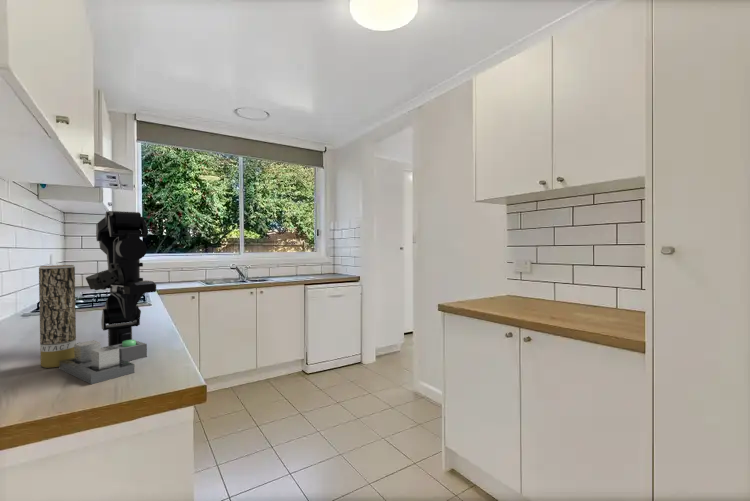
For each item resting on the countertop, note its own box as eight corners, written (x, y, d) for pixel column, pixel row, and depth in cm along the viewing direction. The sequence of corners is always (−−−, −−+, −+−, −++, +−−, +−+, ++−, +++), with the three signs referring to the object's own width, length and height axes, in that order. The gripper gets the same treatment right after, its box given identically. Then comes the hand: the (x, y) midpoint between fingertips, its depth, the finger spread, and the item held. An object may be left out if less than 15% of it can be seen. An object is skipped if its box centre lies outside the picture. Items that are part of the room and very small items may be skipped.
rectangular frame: (59, 369, 88) (59, 360, 88) (100, 359, 95) (100, 352, 95) (91, 384, 78) (91, 375, 78) (134, 372, 85) (134, 364, 85)
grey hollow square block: (111, 359, 96) (111, 345, 96) (136, 353, 101) (136, 340, 101) (121, 362, 92) (121, 349, 92) (146, 356, 97) (146, 343, 97)
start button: (120, 350, 96) (120, 341, 96) (132, 348, 99) (132, 339, 99) (125, 352, 94) (125, 343, 94) (138, 349, 97) (137, 340, 97)
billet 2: (99, 379, 81) (98, 352, 81) (91, 375, 83) (91, 349, 83) (119, 373, 85) (119, 348, 84) (111, 370, 87) (111, 345, 87)
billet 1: (74, 368, 89) (74, 343, 89) (94, 363, 92) (93, 340, 92) (81, 371, 86) (80, 346, 86) (100, 366, 90) (100, 342, 90)
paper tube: (47, 362, 93) (45, 265, 93) (80, 358, 96) (78, 264, 96) (35, 370, 87) (33, 266, 87) (71, 366, 90) (69, 266, 90)
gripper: (75, 259, 94) (75, 319, 94) (106, 261, 84) (107, 328, 84) (123, 257, 103) (123, 312, 104) (157, 259, 93) (157, 319, 94)
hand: (127, 317), depth 96 cm, fingers closed
